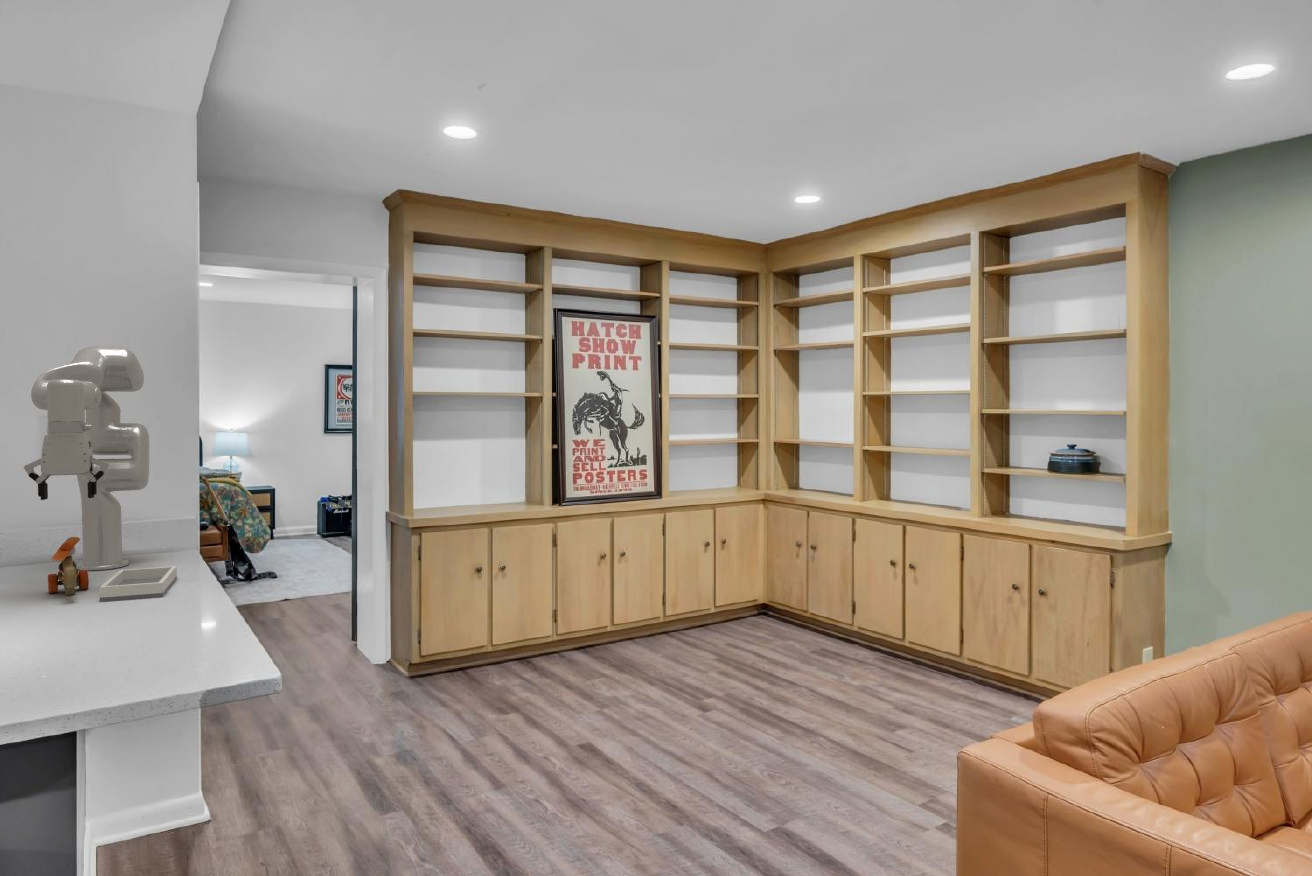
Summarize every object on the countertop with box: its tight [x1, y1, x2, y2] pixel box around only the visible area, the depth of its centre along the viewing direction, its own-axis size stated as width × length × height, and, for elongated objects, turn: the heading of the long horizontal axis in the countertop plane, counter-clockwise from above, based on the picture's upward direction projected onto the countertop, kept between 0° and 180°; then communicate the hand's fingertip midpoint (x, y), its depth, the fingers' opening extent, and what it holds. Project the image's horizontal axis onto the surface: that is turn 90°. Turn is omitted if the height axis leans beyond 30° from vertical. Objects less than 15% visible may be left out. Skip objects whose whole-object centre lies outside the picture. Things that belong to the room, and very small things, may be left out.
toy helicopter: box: [47, 536, 90, 596], centre depth 200 cm, size 8×21×14 cm, turn 39°
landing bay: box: [98, 565, 178, 602], centre depth 206 cm, size 23×13×4 cm, turn 23°
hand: (67, 498), depth 200 cm, fingers open, 9 cm apart
